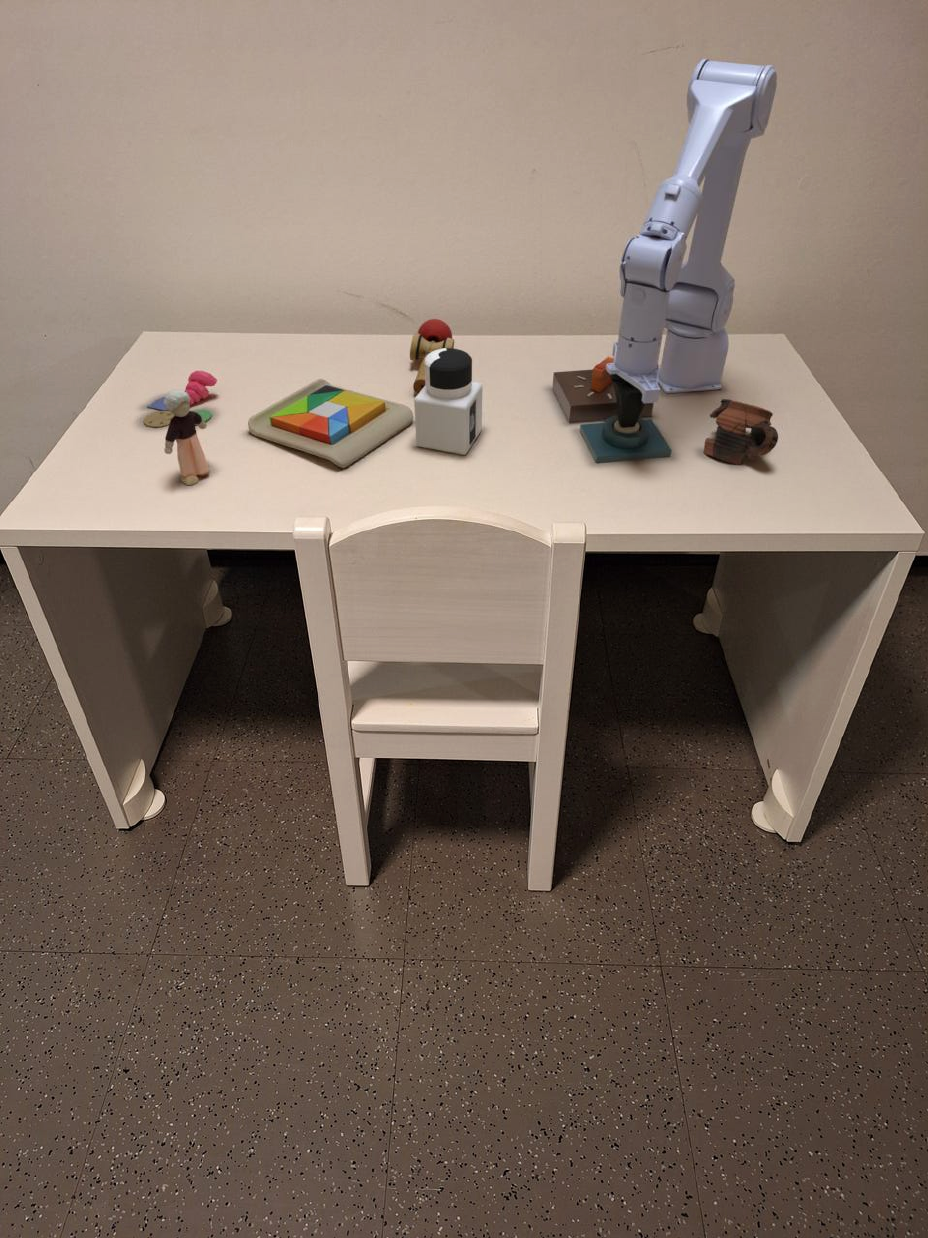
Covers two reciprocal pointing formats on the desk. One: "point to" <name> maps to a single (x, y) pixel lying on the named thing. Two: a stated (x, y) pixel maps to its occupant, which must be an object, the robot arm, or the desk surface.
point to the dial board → (586, 397)
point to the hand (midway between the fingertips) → (626, 424)
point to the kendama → (429, 345)
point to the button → (627, 429)
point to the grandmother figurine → (185, 437)
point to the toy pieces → (195, 392)
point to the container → (448, 403)
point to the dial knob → (601, 375)
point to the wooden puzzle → (331, 422)
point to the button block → (624, 441)
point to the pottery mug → (741, 432)
